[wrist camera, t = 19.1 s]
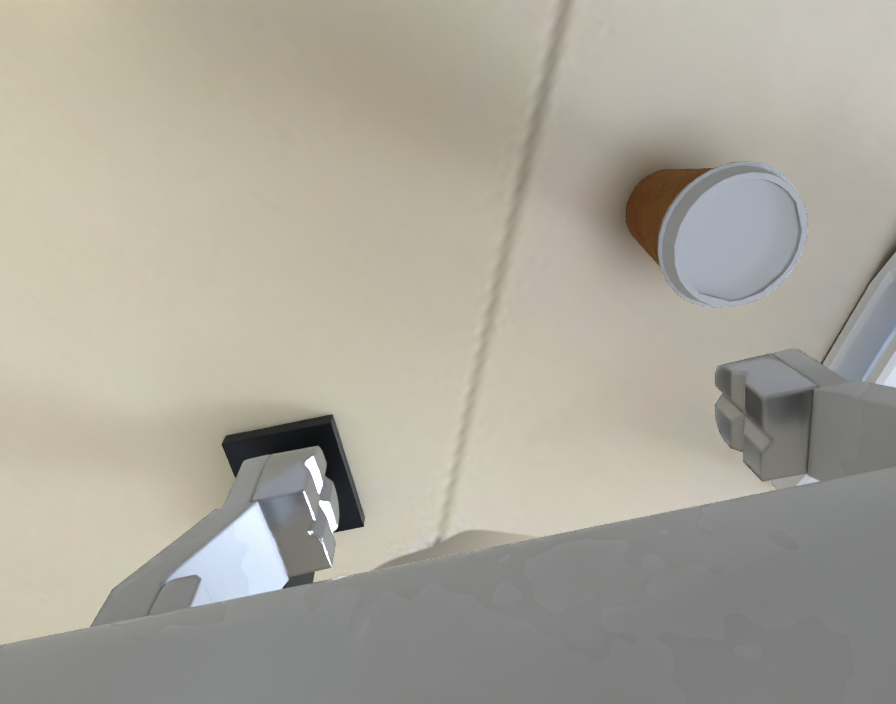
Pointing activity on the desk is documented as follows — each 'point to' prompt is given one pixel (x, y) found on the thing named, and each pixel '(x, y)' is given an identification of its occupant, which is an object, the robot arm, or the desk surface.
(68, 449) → the desk surface
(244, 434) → the bracket
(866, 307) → the document scanner
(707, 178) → the disposable coffee cup
